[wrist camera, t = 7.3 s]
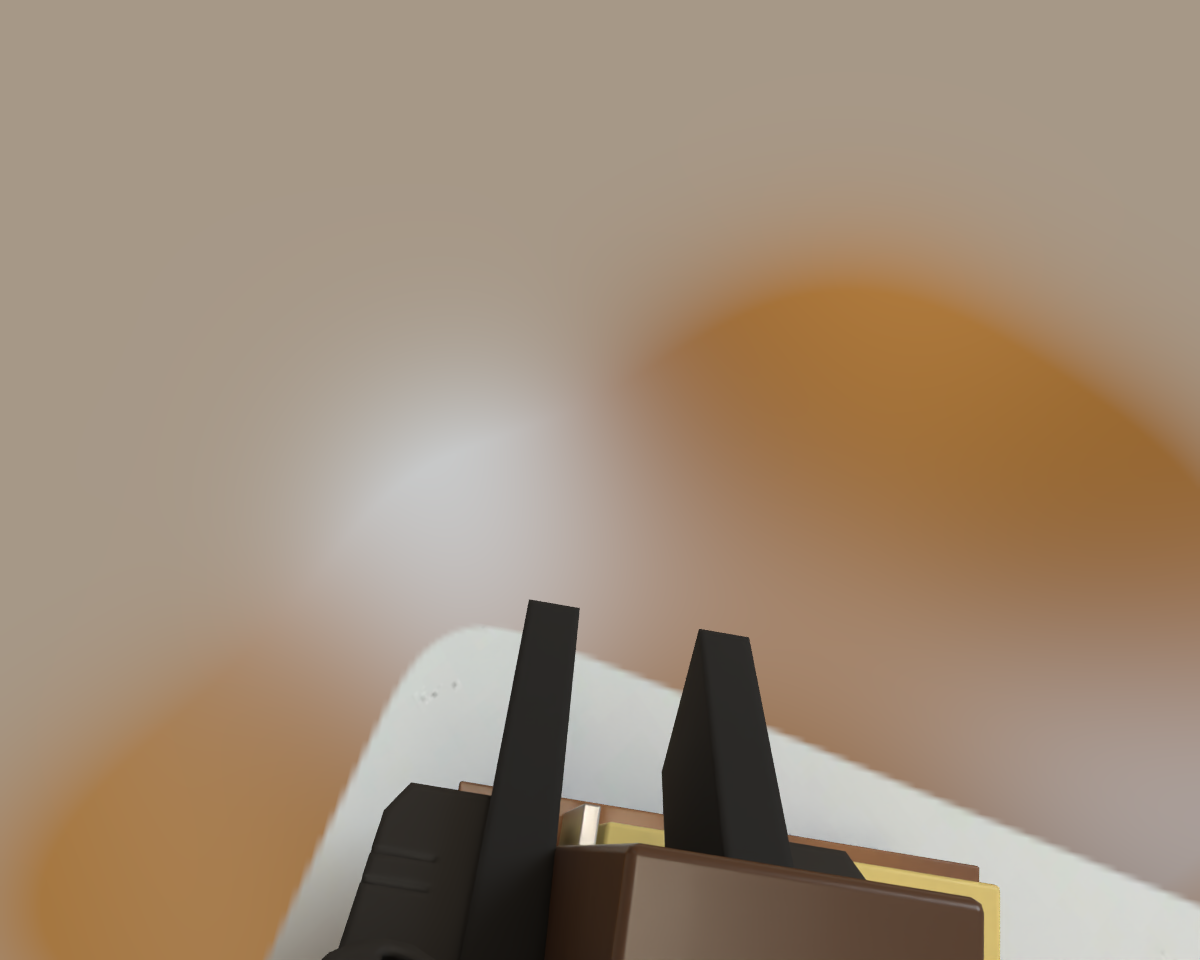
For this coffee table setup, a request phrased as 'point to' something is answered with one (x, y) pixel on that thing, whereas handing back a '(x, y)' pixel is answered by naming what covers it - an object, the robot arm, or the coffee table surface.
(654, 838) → the butter
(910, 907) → the knife
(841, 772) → the coffee table surface
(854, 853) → the board
